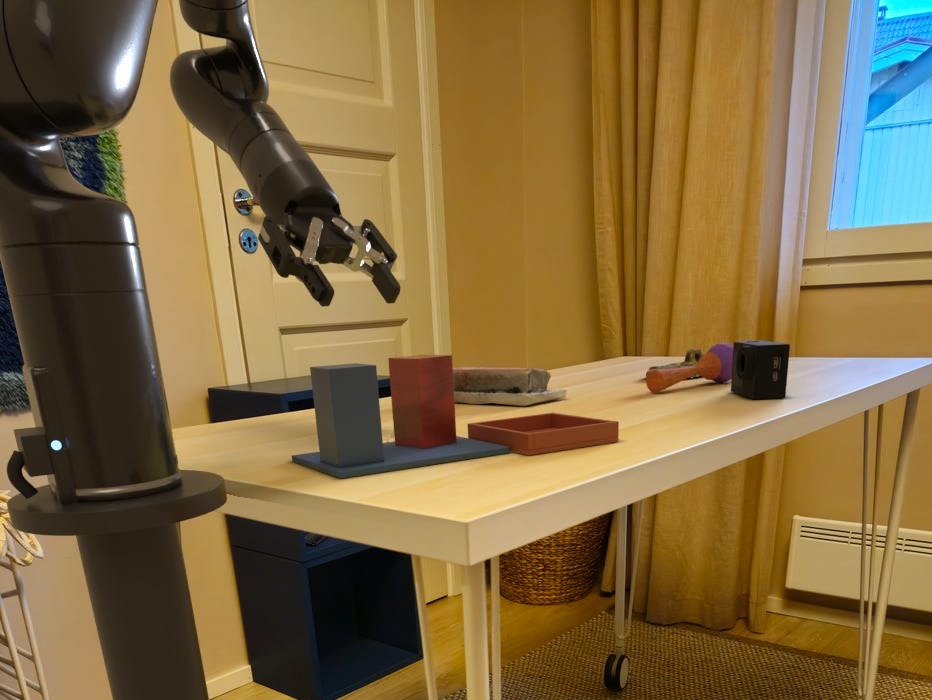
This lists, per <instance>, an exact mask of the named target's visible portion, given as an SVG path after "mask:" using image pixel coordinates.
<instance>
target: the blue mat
mask: <svg viewBox="0 0 932 700" xmlns="http://www.w3.org/2000/svg"><path fill="white" fill-rule="evenodd" d="M456 440H457V442H456V443H451V444H446V445H441V446H436V447H430V448H425V449H421V448H414V447H406V446H399V445H395V441H389V442H388V441H387V442H383V452H384V462H377V463H370V464H363V465H357V466H350V467H343V468H338V467H335V466H332V465H329V464H327V463H324V462H321V461H320V452H319V451H314V452H306V453H305V452H304V453H298V454H291V461H292V462H293V463H296V464H298V465H301V466H305V467H307V468H309V469H313V470H316V471H317V472H321V473H324V474H326V475H330V476H332V477H335V478H338V479H347V478H353V477H359V476H360V477H361V476H367V475H371V474H373V475H374V474H379V473H386V472H387V473H388V472H394V471H400V470H407V469H412V468H419V467H420V468H421V467H426V466H432V465H439V464H446V463H452V462H453V463H454V462H458V461H459V462H460V461H466V460H472V459H478V458H479V459H480V458H484V457H493V456H499V455H506V454H509V453H511V452H510V447H508V446H503V445H498V444H493V443H488V442H483V441H478V440H473V439H469V438H468V437H463V436H459V435H456Z"/></svg>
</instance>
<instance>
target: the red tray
mask: <svg viewBox="0 0 932 700" xmlns="http://www.w3.org/2000/svg"><path fill="white" fill-rule="evenodd" d="M619 425H620V422H619V421H617V420H610V419H602V418H601V419H600V418H595V417H587V416H581V415H573V414H566V413H558V412H547V413H538V414H531V415H523V416H516V417H507V418H499V419H493V420H486V421H485V420H484V421H477V422H468V423H467V438H469V439H473V440H478V441H483V442H488V443H493V444H498V445H503V446H508V447H510V453H515V454H519V455H520V454H521V455H524V456H535V455H541V454H548V453H554V452H560V451H567V450H573V449H579V448H586V447H593V446H599V445H605V444H611V443H617V442H618V443H619V435H620V434H619V432H620V431H619V428H620V426H619Z"/></svg>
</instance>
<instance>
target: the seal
mask: <svg viewBox="0 0 932 700" xmlns="http://www.w3.org/2000/svg"><path fill="white" fill-rule="evenodd" d="M703 355H704V354H703V351H702V349H701V348H690V349H688V350H687V351H686V354H685V356H684V361H682V362H681V361H680V362H673V363H669V364H665V365H660V366H659V365H654V366H650V367H649V368H648V370H647V371H646V373H645V378H646V377H647V374H648V373H649V372H650V371H652V370H659V369H671V368H683V367H695V366H696V364H697V363H698V361H699V360H700V358H701V357H702V356H703ZM698 376H700V375H698V374H695V375H693V376H691V377H698ZM691 377H689V378H691ZM698 378H699V377H698ZM691 379H692V378H691Z"/></svg>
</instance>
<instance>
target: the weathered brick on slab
mask: <svg viewBox="0 0 932 700" xmlns="http://www.w3.org/2000/svg"><path fill="white" fill-rule="evenodd" d="M551 377H552V376H551V372H549V371H547V370H545V369H542V368H537V367H527V368H526V367H525V368H522V367H512V366H509V367H491V366H458V367H453V383H454V402H455V404H467V405H468V404H469V405H470V404H471V405H484V404H500V405H509V406H519V407H525V406H530V405H534V404H541V403H545V402H551V401H556V400H561V399H566V398H567V389H559V390H557V389H548V385H549V381H550V380H551Z"/></svg>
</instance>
